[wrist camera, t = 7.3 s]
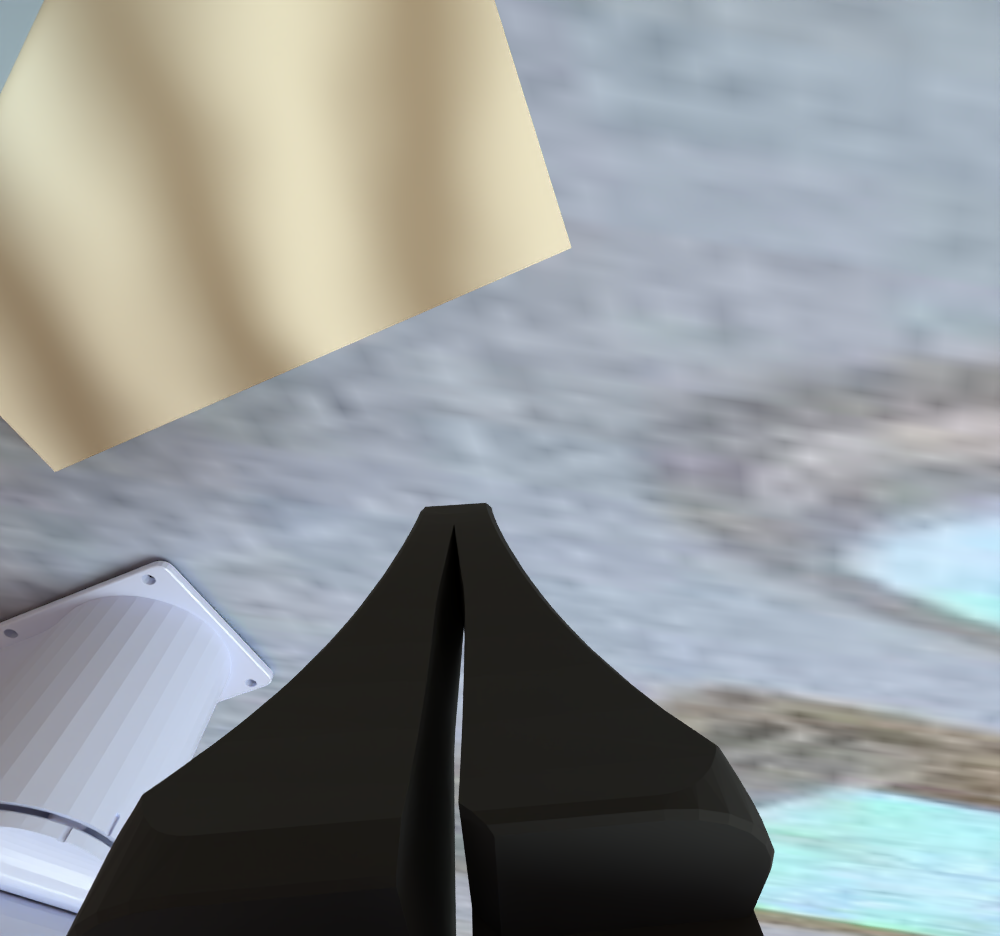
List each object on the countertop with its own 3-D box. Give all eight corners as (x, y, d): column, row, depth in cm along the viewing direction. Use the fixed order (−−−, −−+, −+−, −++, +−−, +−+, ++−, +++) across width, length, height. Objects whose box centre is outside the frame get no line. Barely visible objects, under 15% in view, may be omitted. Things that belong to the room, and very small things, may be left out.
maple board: (76, 455, 20) (55, 472, 19) (-463, -122, 12) (-551, -150, 11) (564, 242, 17) (571, 248, 16) (278, -662, 9) (256, -765, 8)
